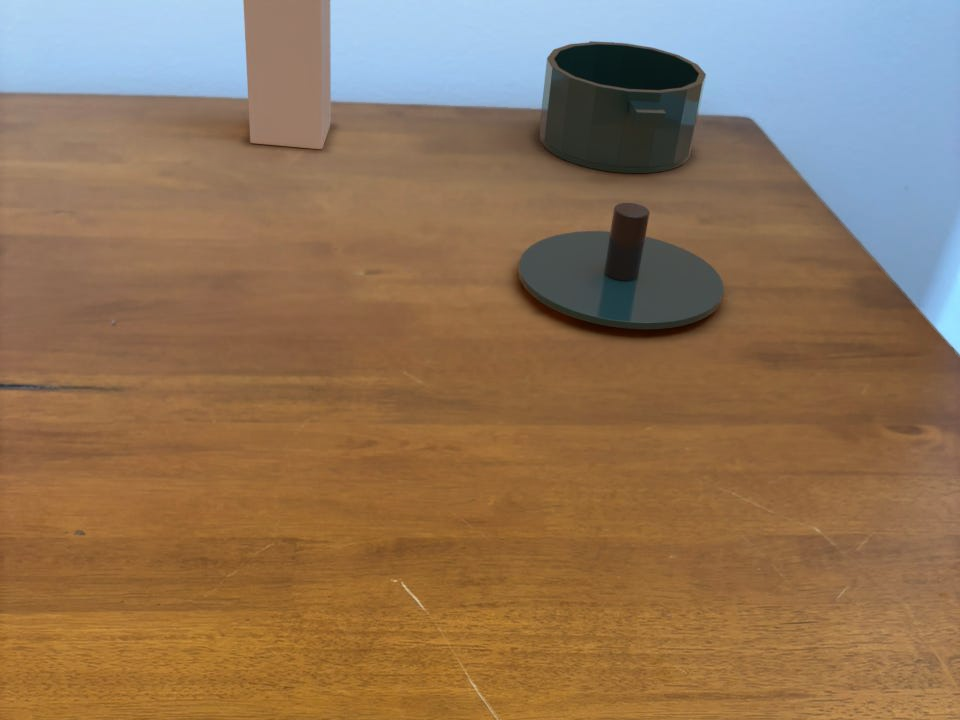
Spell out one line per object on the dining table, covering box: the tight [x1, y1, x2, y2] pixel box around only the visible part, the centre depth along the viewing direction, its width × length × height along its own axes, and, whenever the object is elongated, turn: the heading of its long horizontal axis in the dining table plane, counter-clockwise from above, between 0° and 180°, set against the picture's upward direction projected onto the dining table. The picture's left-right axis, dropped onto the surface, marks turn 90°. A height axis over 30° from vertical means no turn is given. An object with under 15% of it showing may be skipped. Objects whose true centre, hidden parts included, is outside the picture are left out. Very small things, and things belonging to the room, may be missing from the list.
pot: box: [538, 40, 707, 174], centre depth 102 cm, size 13×19×6 cm
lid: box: [517, 202, 725, 330], centre depth 80 cm, size 14×14×6 cm
